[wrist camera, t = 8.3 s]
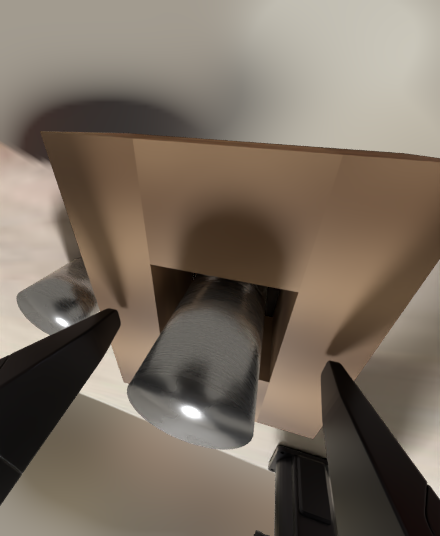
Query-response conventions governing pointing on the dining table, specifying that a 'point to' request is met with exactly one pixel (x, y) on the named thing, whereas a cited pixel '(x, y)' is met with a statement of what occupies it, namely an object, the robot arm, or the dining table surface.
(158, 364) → the tall pin
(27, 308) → the short pin
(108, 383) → the dining table surface
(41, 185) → the dining table surface
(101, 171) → the hole block
